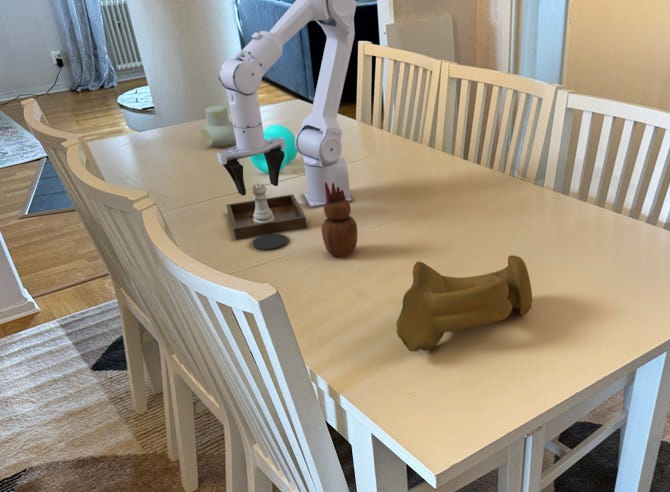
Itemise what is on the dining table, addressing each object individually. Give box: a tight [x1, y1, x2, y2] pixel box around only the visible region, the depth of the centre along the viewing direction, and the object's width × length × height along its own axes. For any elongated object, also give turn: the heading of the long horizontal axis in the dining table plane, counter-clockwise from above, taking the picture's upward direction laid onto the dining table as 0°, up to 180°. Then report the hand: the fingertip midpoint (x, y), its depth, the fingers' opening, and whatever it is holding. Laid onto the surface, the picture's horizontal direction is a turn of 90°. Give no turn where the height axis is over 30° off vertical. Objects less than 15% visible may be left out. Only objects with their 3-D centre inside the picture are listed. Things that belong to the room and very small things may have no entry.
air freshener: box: [200, 104, 236, 148], centre depth 190 cm, size 11×8×10 cm
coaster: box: [252, 233, 288, 251], centre depth 140 cm, size 7×7×1 cm
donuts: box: [249, 124, 298, 175], centre depth 173 cm, size 10×10×10 cm
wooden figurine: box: [320, 182, 358, 258], centre depth 130 cm, size 7×6×15 cm
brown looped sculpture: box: [396, 254, 533, 353], centre depth 108 cm, size 18×13×22 cm
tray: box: [226, 194, 308, 241], centre depth 148 cm, size 15×14×2 cm
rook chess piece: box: [250, 182, 275, 224], centre depth 146 cm, size 4×4×8 cm
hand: (258, 189), depth 145 cm, fingers open, 7 cm apart
